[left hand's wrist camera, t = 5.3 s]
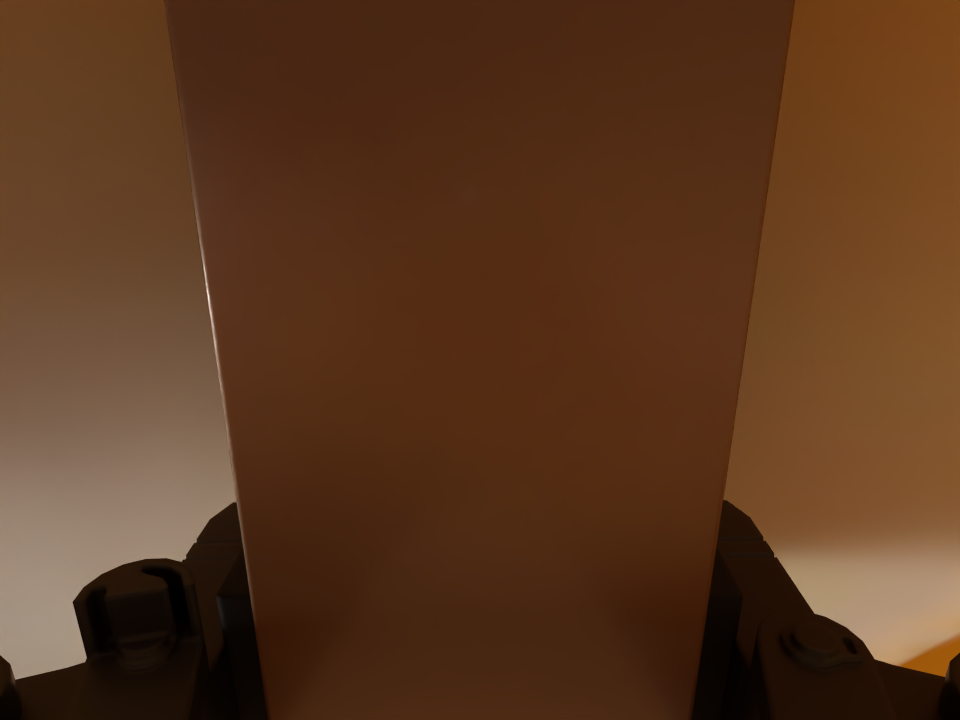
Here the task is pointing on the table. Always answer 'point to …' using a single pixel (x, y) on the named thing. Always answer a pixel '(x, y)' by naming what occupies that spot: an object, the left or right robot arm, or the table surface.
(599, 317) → the bar
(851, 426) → the table surface
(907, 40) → the table surface
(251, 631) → the left robot arm
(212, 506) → the table surface
